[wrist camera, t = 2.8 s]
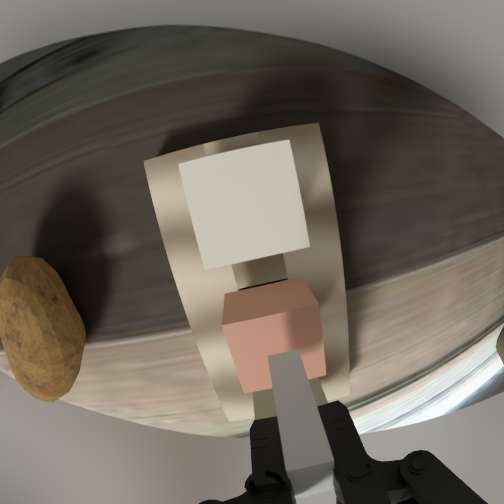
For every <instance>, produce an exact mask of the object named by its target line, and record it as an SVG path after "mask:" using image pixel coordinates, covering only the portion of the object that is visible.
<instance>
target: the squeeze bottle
mask: <svg viewBox="0 0 504 504" xmlns="http://www.w3.org/2000/svg"><path fill="white" fill-rule="evenodd" d="M496 348H497V352H498V354H499V356H500V358H501V360H502V362H503V364H504V329H503V331H502V332H501V334H500V336H499V339H498V341H497V346H496Z"/></svg>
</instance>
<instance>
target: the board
mask: <svg viewBox="0 0 504 504" xmlns="http://www.w3.org/2000/svg"><path fill="white" fill-rule="evenodd" d="M284 140H290V145H291V149H292V154H293V159H294V163H295V168H296V173H297V178H298V183H299V188H300V193H301V199H302V204H303V209H304V215H305V221H306V226H307V232H308V238H309V244H310V247H307V248H302V249H298V250H294V251H289V252H285V253H280V254H276V255H271V256H267V257H262V258H258V259H253V260H249V261H244V262H240V263H235V264H231V265H226V266H221V267H217V268H212V269H208V270H205V269H204V266H203V262H202V258H201V255H200V251H199V247H198V243H197V240H196V236H195V232H194V228H193V224H192V220H191V216H190V212H189V208H188V204H187V200H186V196H185V192H184V187H183V183H182V179H181V174H180V170H179V166H178V164H180V163H184V162H187V161H191V160H195V159H199V158H203V157H207V156H211V155H215V154H219V153H223V152H228V151H232V150H237V149H242V148H246V147H251V146H256V145H261V144H267V143H272V142H278V141H284ZM144 166H145V170H146V175H147V179H148V184H149V188H150V192H151V196H152V200H153V204H154V208H155V212H156V216H157V220H158V224H159V227H160V231H161V235H162V238H163V242H164V245H165V249H166V252H167V256H168V259H169V262H170V266H171V269H172V272H173V276H174V279H175V282H176V285H177V288H178V291H179V294H180V297H181V300H182V303H183V306H184V309H185V312H186V315H187V318H188V321H189V324H190V326H191V329H192V332H193V335H194V337H195V340H196V343H197V345H198V348H199V351H200V353H201V356H202V358H203V361H204V364H205V366H206V369H207V371H208V374H209V376H210V379H211V381H212V383H213V386H214V388H215V391H216V393H217V395H218V398H219V400H220V402H221V404H222V407H223V409H224V411H225V414H226V416H227V418H228V420H229V422H232V421H239V420H246V419H252V418H255V415H254V403H253V392H250V393H244V392H243V389H242V386H241V383H240V380H239V377H238V374H237V371H236V368H235V365H234V362H233V359H232V356H231V353H230V350H229V347H228V344H227V340H226V337H225V334H224V331H223V328H222V317H223V306H224V295H225V294H226V293H230V292H235V291H240V290H241V288H245V287H250V286H255V285H259V284H264V283H268V282H273V281H277V280H281V279H285V280H289V279H293V278H298V277H302V278H303V279H304V281H305V282H306V284H307V285H308V287H309V289H310V290H311V292H312V293H313V295H314V297H315V298H316V300H317V301H318V303H319V309H320V317H321V325H322V334H323V344H324V354H325V365H326V375H325V376H321V377H318V378H319V381H320V383H321V386H322V388H323V391H324V394H325V396H326V399H327V401H332V400H335V399H338V398H342V397H345V396H348V395H350V365H349V336H348V318H347V304H346V291H345V280H344V270H343V261H342V253H341V244H340V237H339V229H338V222H337V215H336V209H335V203H334V197H333V191H332V185H331V179H330V174H329V169H328V164H327V159H326V154H325V149H324V144H323V140H322V135H321V131H320V126H319V123H312V124H304V125H297V126H290V127H284V128H278V129H272V130H266V131H261V132H255V133H250V134H245V135H240V136H236V137H231V138H227V139H222V140H218V141H214V142H209V143H205V144H201V145H197V146H194V147H190V148H186V149H182V150H179V151H175V152H172V153H168V154H165V155H162V156H158V157H155V158H152V159H149V160H146V161H144Z"/></svg>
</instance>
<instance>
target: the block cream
mask: <svg viewBox="0 0 504 504" xmlns="http://www.w3.org/2000/svg"><path fill="white" fill-rule="evenodd" d="M178 166H179V170H180V174H181V179H182V183H183V187H184V192H185V196H186V200H187V204H188V208H189V212H190V216H191V220H192V224H193V228H194V232H195V236H196V240H197V243H198V247H199V251H200V255H201V258H202V262H203V266H204V269H205V270H208V269H212V268H217V267H221V266H226V265H231V264H235V263H240V262H244V261H249V260H253V259H258V258H262V257H267V256H271V255H276V254H280V253H285V252H289V251H294V250H298V249H302V248H307V247H310V244H309V238H308V232H307V226H306V221H305V215H304V209H303V204H302V199H301V193H300V188H299V183H298V178H297V173H296V168H295V163H294V159H293V154H292V149H291V145H290V140H284V141H278V142H272V143H267V144H261V145H256V146H251V147H246V148H242V149H237V150H232V151H228V152H223V153H219V154H215V155H211V156H207V157H203V158H199V159H195V160H191V161H187V162H184V163H180V164H178Z"/></svg>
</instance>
